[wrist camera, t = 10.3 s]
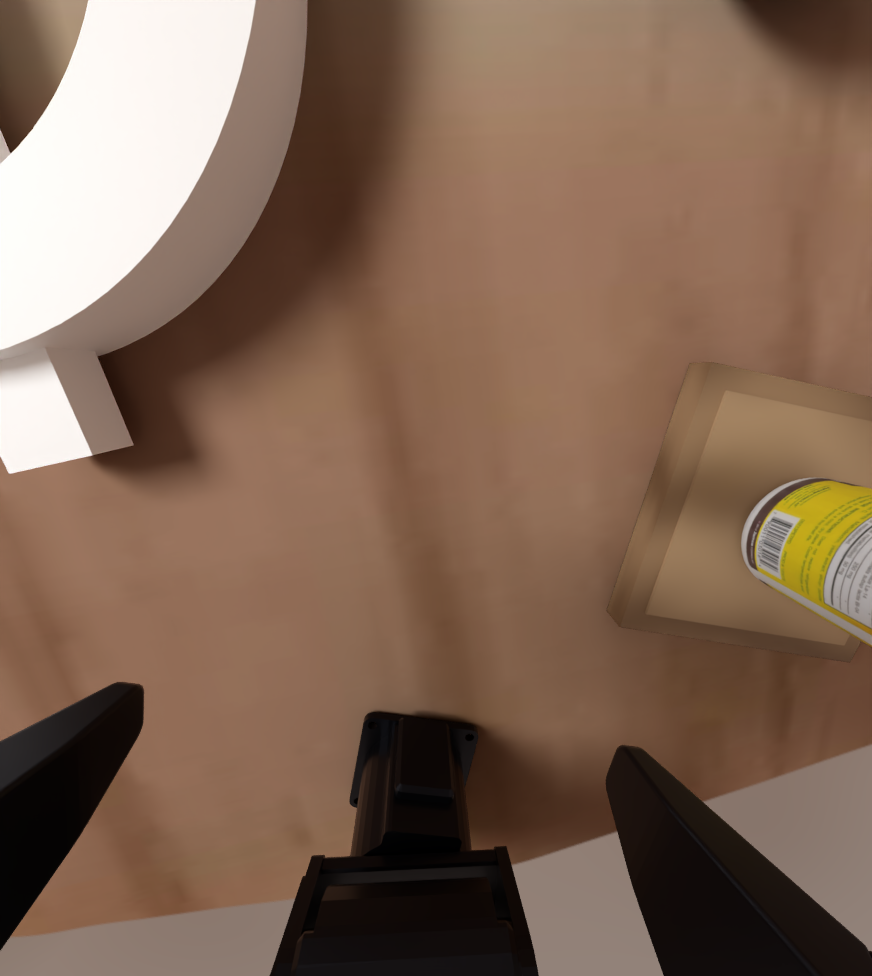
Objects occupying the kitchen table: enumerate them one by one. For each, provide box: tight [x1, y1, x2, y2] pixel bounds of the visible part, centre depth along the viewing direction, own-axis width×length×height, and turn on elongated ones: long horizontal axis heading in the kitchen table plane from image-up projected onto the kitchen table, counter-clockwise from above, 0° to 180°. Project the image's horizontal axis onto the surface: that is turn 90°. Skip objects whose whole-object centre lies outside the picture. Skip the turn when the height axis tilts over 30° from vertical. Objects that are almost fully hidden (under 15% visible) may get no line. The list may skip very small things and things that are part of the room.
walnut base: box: [607, 362, 872, 662], centre depth 20 cm, size 13×13×2 cm
